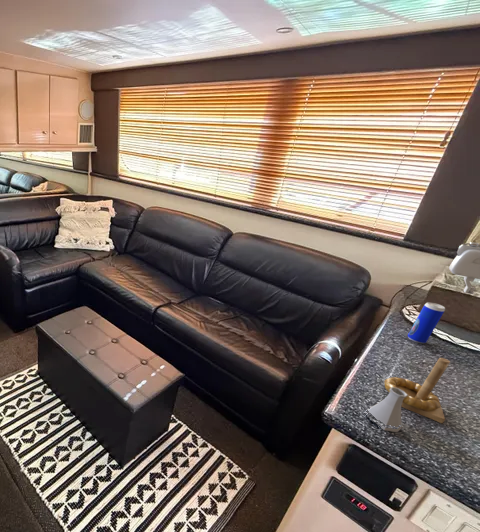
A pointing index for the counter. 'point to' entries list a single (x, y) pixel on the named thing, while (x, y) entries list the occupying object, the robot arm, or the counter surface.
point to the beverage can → (426, 322)
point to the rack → (428, 391)
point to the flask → (389, 409)
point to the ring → (427, 405)
